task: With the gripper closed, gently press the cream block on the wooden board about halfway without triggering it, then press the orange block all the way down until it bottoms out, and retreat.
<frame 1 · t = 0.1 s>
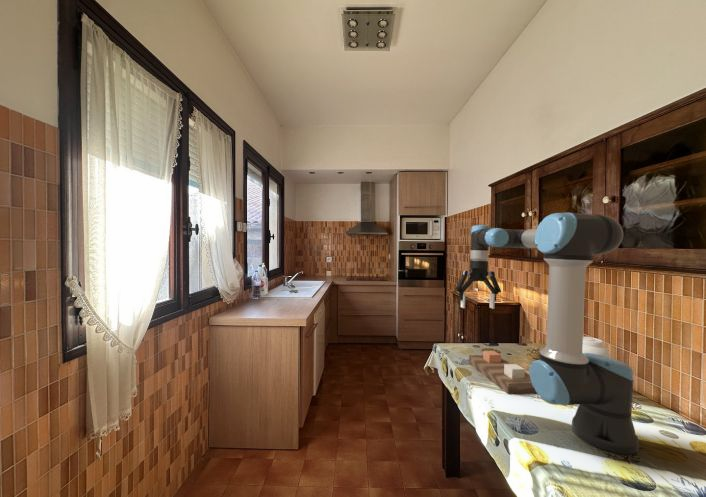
hand: (477, 307, 137), 28 cm above the table, fingers open, 13 cm apart
orange block: (491, 357, 139), point 5 cm above the table, slide at 0.0 cm
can: (588, 389, 122), on the table
cream block: (514, 372, 123), point 5 cm above the table, slide at 0.0 cm
wooden board: (501, 377, 131), on the table
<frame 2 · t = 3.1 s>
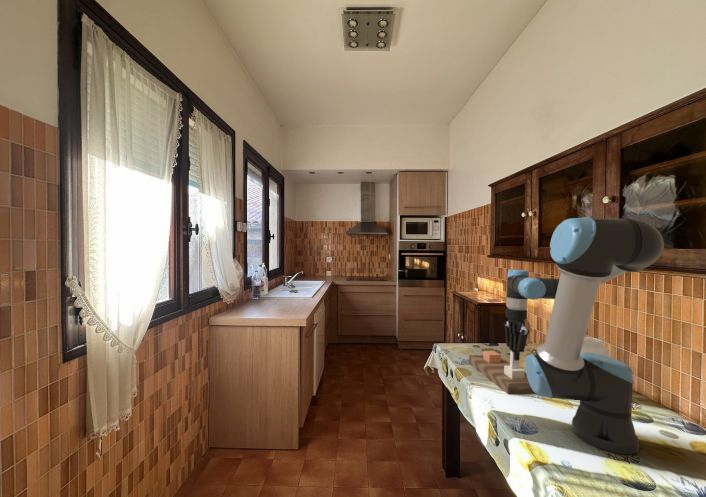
hand: (514, 367, 123), 7 cm above the table, fingers closed
cream block: (514, 373, 123), point 5 cm above the table, slide at 0.5 cm, touching gripper
everything else where it was.
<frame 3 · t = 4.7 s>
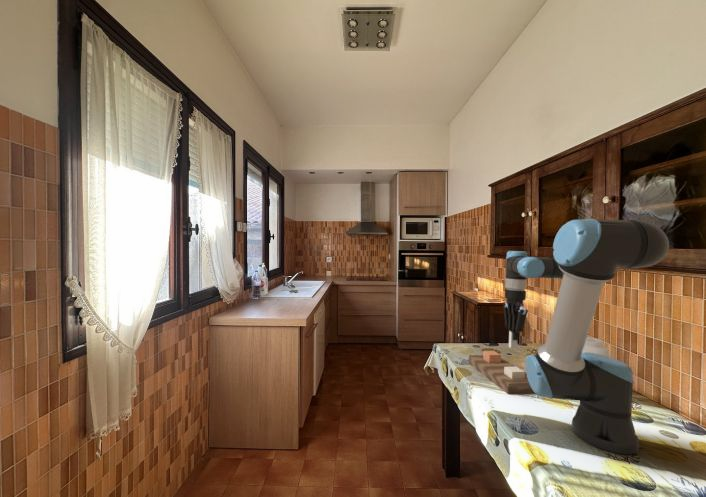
hand: (512, 347, 125), 15 cm above the table, fingers closed
cream block: (514, 374, 123), point 4 cm above the table, slide at 1.0 cm
everything else where it was.
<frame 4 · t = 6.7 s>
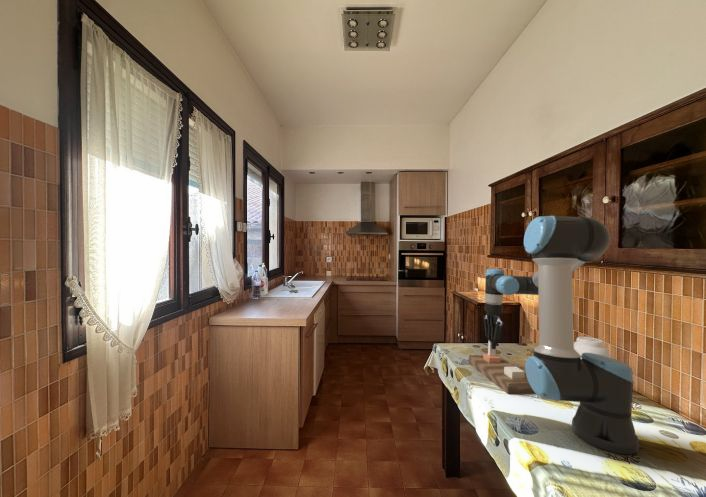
hand: (491, 355, 139), 6 cm above the table, fingers closed
orange block: (491, 360, 139), point 4 cm above the table, slide at 1.4 cm, touching gripper
everything else where it was.
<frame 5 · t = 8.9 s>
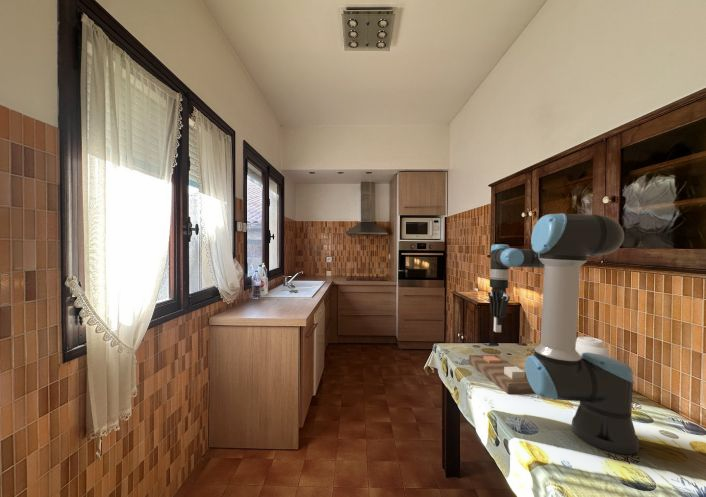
hand: (497, 331, 138), 18 cm above the table, fingers closed
orange block: (491, 363, 139), point 3 cm above the table, slide at 2.4 cm
everything else where it was.
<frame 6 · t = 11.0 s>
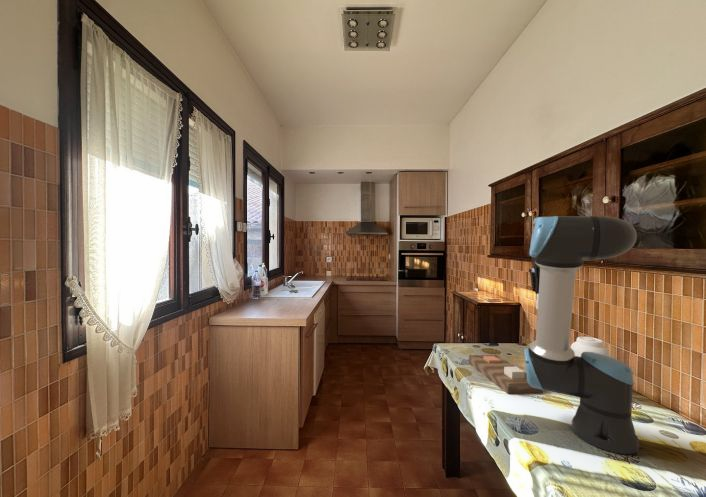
hand: (540, 309, 131), 29 cm above the table, fingers closed
nothing on the table moved.
at the end: cream block slide at 1.0 cm; orange block slide at 2.4 cm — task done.
